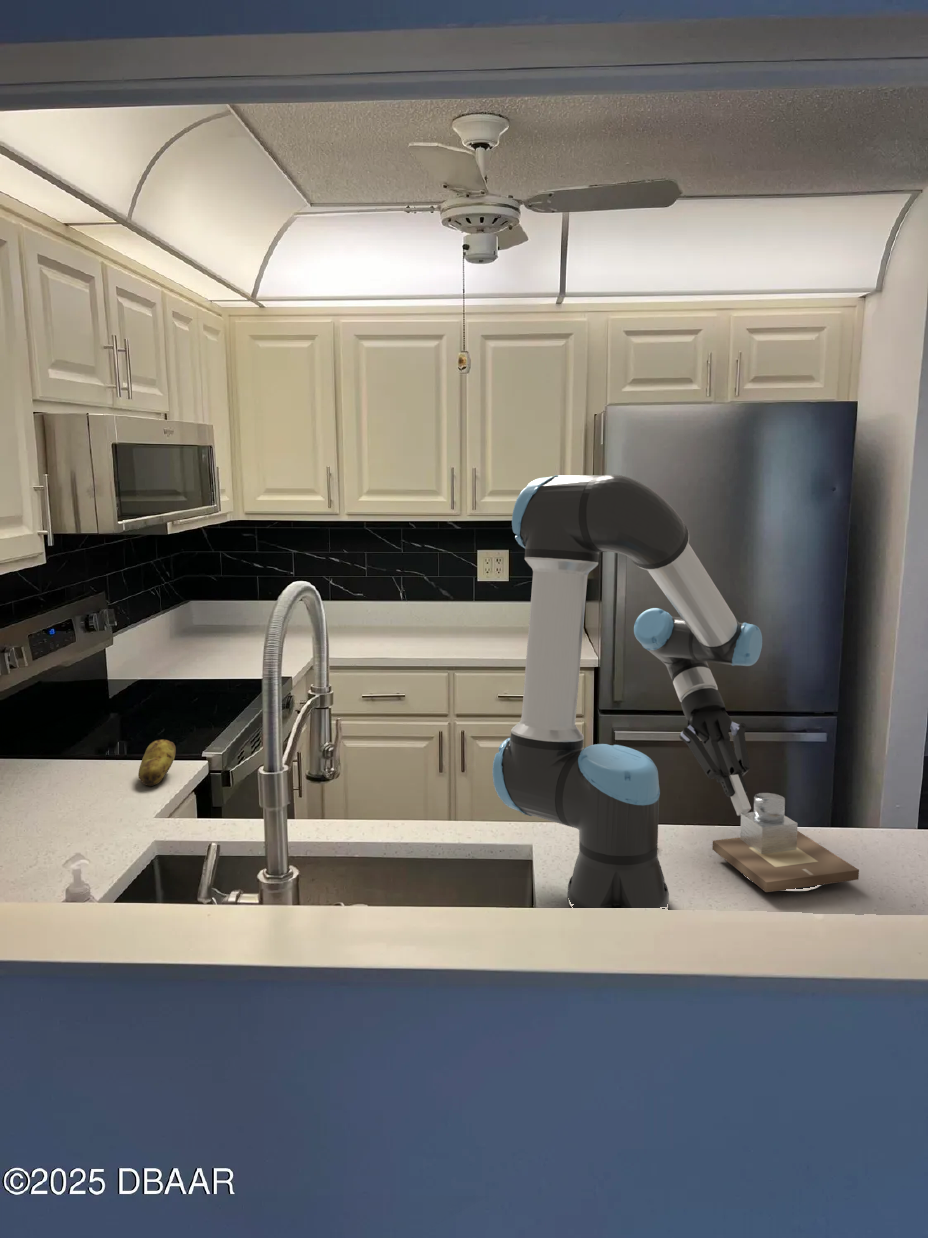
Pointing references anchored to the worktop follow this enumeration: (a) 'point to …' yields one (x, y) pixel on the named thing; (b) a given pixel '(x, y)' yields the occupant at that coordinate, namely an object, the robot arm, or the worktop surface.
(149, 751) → the potato
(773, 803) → the metal block with knob
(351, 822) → the worktop surface
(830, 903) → the worktop surface
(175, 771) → the worktop surface
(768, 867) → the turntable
